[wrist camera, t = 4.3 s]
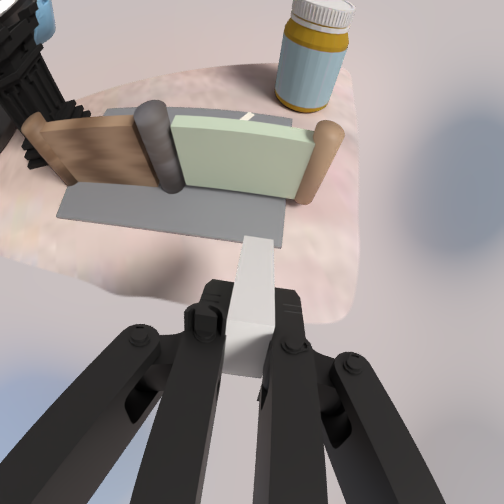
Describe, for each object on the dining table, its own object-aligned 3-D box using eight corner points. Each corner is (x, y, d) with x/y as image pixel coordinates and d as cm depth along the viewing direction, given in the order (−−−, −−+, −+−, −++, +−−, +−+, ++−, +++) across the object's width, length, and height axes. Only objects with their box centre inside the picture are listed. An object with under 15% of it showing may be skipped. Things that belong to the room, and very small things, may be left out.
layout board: (57, 218, 25) (55, 216, 24) (108, 110, 30) (107, 108, 29) (280, 248, 25) (281, 246, 24) (291, 121, 30) (292, 118, 30)
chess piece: (30, 169, 27) (-48, 70, 8) (48, 125, 29) (-8, 28, 10) (74, 159, 27) (-3, 34, 8) (91, 113, 30) (40, -2, 11)
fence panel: (185, 188, 25) (166, 120, 16) (190, 170, 25) (175, 101, 17) (312, 206, 25) (345, 144, 16) (313, 188, 26) (343, 124, 17)
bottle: (292, 120, 30) (318, 10, 16) (264, 87, 32) (277, -12, 18) (337, 109, 31) (373, 15, 17) (308, 79, 33) (330, -10, 19)
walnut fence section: (62, 185, 25) (17, 133, 16) (70, 168, 26) (29, 113, 17) (182, 195, 26) (159, 122, 16) (188, 174, 26) (170, 99, 17)
